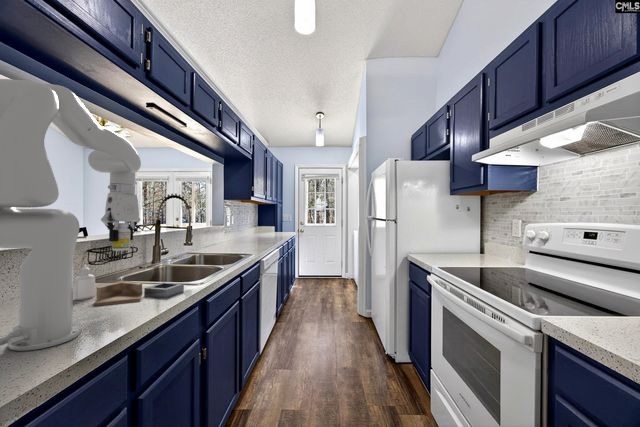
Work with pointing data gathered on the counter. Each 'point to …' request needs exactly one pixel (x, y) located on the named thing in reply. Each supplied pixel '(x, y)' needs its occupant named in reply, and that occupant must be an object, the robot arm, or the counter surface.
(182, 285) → the socket block
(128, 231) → the supplement bottle
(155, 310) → the counter surface
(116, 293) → the v block
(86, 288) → the eye dropper bottle
